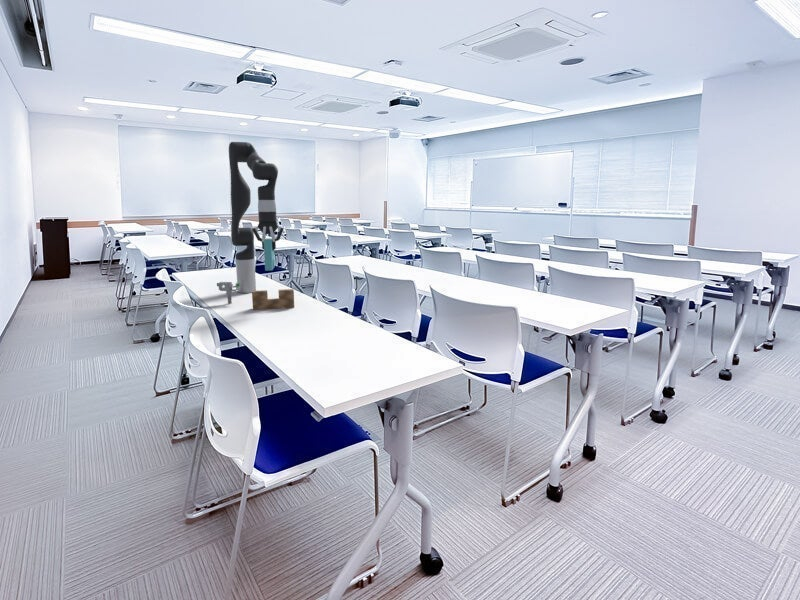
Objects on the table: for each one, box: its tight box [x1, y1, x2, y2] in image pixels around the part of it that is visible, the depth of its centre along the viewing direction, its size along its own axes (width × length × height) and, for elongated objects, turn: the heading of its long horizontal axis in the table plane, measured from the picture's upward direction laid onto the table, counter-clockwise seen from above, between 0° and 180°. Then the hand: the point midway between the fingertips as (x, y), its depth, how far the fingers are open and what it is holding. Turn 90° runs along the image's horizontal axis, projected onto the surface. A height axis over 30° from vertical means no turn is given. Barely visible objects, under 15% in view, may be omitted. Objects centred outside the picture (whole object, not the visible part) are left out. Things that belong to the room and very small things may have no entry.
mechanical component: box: [216, 281, 240, 305], centre depth 221 cm, size 3×10×10 cm, turn 89°
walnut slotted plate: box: [251, 288, 295, 311], centre depth 214 cm, size 18×3×8 cm, turn 108°
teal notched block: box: [263, 237, 276, 272], centre depth 210 cm, size 12×3×13 cm, turn 10°
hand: (269, 250), depth 210 cm, fingers closed on teal notched block, 3 cm apart
